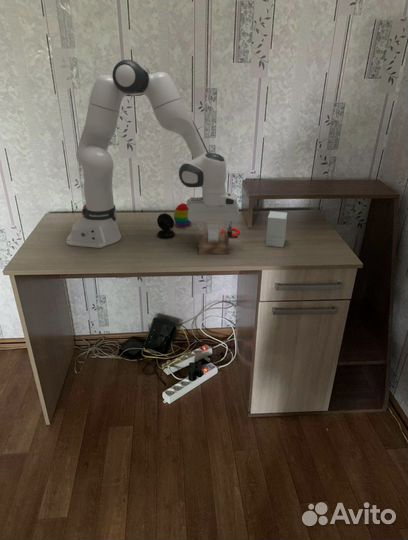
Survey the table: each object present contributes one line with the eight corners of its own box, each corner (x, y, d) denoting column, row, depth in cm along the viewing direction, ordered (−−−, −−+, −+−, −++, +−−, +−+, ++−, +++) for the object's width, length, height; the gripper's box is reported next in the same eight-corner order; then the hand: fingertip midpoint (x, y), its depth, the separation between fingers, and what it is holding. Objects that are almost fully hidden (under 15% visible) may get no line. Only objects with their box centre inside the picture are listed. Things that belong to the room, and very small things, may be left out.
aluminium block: (208, 243, 161) (208, 229, 158) (208, 237, 166) (208, 224, 163) (218, 243, 161) (218, 229, 158) (217, 237, 166) (218, 224, 163)
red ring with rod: (222, 229, 182) (219, 237, 174) (223, 201, 176) (220, 208, 168) (240, 230, 181) (239, 238, 173) (242, 202, 175) (240, 209, 167)
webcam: (153, 236, 174) (152, 215, 169) (162, 230, 180) (161, 209, 175) (169, 240, 171) (168, 218, 166) (178, 233, 177) (177, 212, 172)
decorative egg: (188, 228, 181) (188, 207, 176) (171, 226, 183) (170, 205, 178) (194, 222, 188) (194, 201, 183) (177, 220, 190) (177, 199, 185)
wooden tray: (198, 254, 160) (198, 243, 158) (198, 241, 170) (198, 231, 168) (228, 254, 160) (229, 243, 158) (227, 241, 170) (227, 231, 168)
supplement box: (285, 240, 171) (288, 212, 165) (283, 247, 165) (286, 218, 159) (267, 238, 173) (270, 210, 167) (265, 245, 167) (267, 217, 160)
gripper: (186, 200, 152) (186, 234, 158) (240, 200, 152) (239, 234, 159) (186, 194, 157) (187, 227, 164) (239, 195, 157) (237, 227, 164)
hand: (213, 230), depth 161 cm, fingers open, 8 cm apart
